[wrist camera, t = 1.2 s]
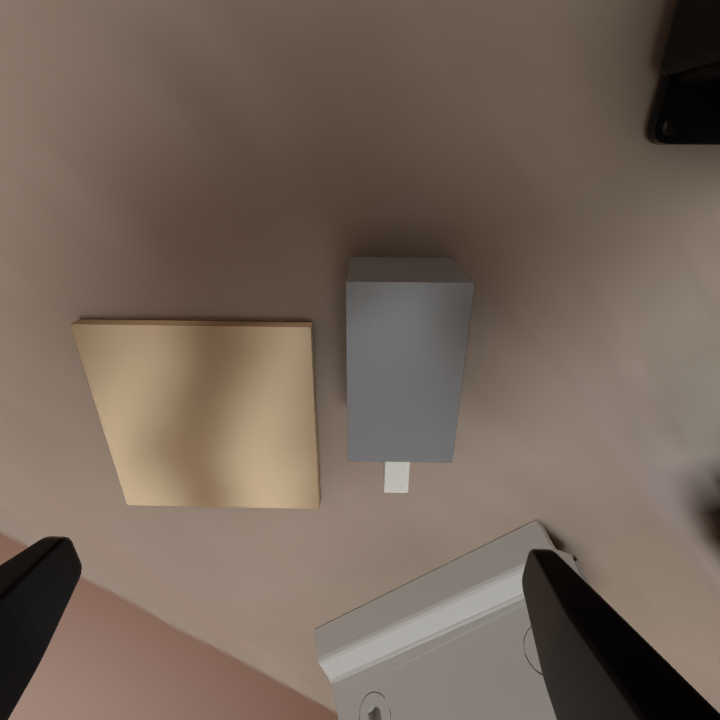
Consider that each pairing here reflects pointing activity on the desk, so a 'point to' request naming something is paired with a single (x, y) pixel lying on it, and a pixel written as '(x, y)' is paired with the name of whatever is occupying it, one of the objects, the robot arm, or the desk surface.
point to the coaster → (206, 410)
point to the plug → (405, 360)
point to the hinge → (445, 643)
